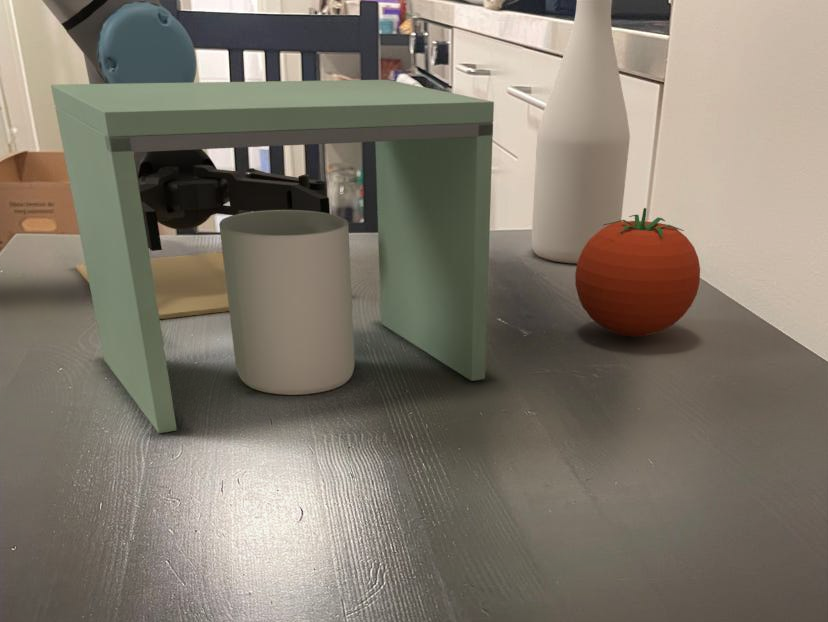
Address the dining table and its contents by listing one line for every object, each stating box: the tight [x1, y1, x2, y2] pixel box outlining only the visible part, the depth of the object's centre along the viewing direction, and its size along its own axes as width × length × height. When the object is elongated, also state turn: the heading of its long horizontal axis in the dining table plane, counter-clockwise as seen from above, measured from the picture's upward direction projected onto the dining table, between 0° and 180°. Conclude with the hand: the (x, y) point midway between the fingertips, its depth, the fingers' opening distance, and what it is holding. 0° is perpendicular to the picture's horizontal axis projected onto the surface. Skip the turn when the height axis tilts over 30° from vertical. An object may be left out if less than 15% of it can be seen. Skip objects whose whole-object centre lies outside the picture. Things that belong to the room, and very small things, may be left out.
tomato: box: [574, 207, 701, 337], centre depth 80 cm, size 10×10×10 cm
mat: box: [75, 251, 229, 320], centre depth 92 cm, size 20×20×1 cm
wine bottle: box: [530, 0, 631, 264], centre depth 98 cm, size 10×10×30 cm
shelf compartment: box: [50, 79, 495, 434], centre depth 67 cm, size 24×16×18 cm, turn 120°
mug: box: [218, 210, 355, 396], centre depth 70 cm, size 9×12×11 cm
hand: (243, 223), depth 74 cm, fingers open, 13 cm apart
